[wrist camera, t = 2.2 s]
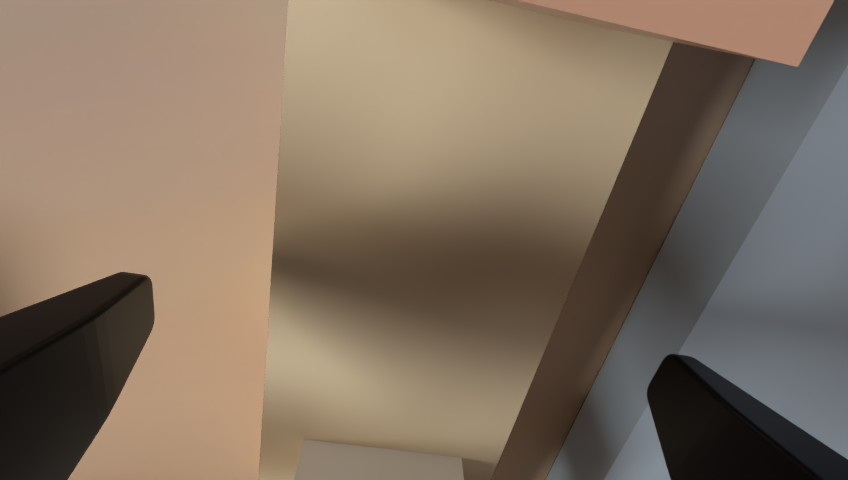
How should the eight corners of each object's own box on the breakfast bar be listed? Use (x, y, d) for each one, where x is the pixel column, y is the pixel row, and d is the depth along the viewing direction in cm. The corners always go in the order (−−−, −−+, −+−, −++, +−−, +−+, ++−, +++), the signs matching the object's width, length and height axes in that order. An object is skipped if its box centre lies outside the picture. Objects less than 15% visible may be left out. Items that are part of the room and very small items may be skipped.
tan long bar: (434, 486, 19) (440, 601, 15) (282, 470, 18) (251, 586, 15) (735, -412, 8) (997, -735, 4) (380, -540, 7) (353, -1047, 4)
